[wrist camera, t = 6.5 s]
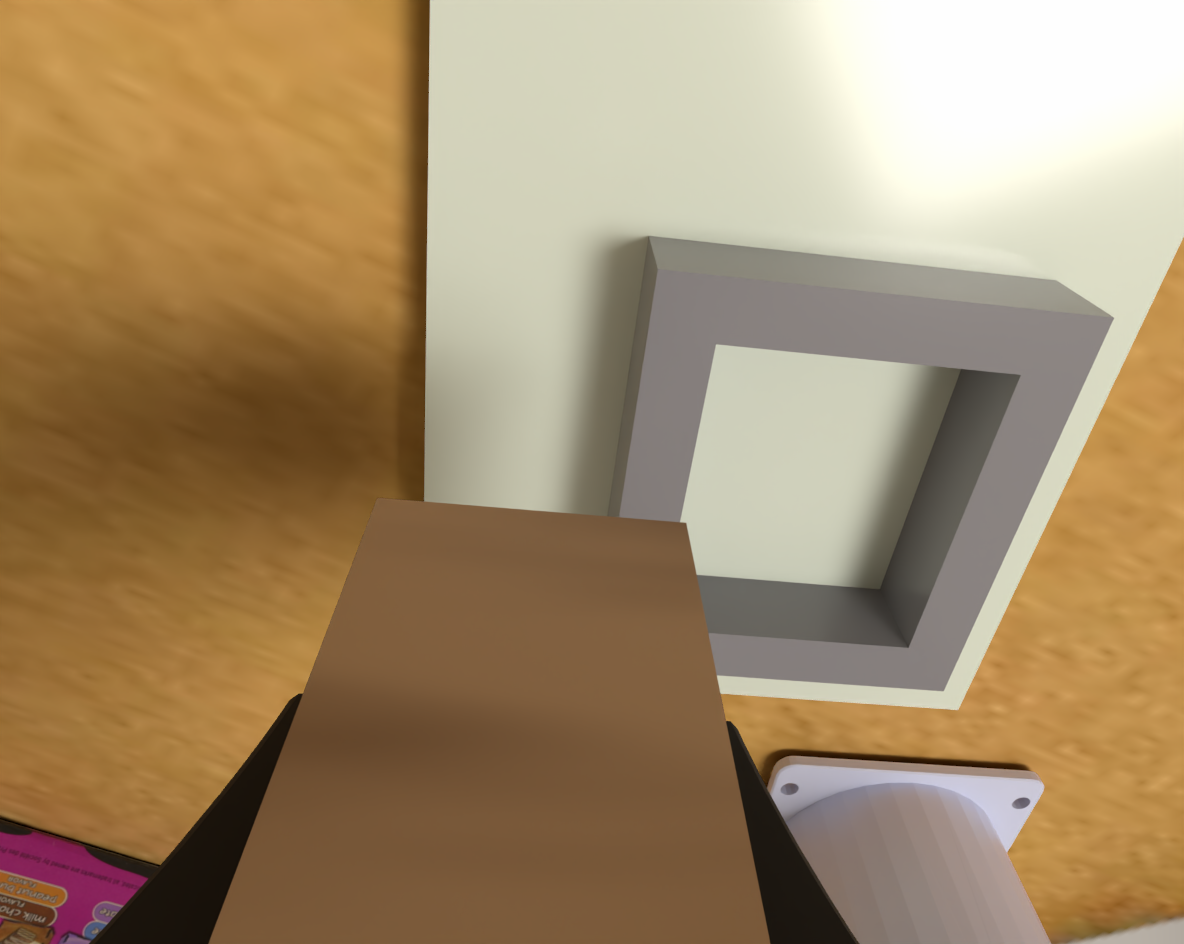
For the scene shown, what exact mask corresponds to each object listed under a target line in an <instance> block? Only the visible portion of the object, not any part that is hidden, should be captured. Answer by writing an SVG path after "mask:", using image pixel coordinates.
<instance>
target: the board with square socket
mask: <svg viewBox="0 0 1184 944" xmlns="http://www.w3.org/2000/svg"><path fill="white" fill-rule="evenodd" d="M1183 237H1184V0H430V43H429V128H428V213H427V298H426V383H425V468H424V502H436V503H449V504H461V505H474V506H486V507H498V508H511V509H523V510H535V511H548V512H560V513H572V514H585V515H597V516H609V517H622V518H634V519H647V520H659V521H671V522H684V523H686V524H687V529H688V534H689V539H690V544H691V549H692V554H693V559H694V564H695V569H696V574H697V579H698V584H699V589H700V594H701V599H702V604H703V609H704V614H705V619H706V624H707V629H708V634H709V639H710V644H711V649H712V654H713V659H714V664H715V669H716V674H717V679H718V684H719V689H720V694H735V695H749V696H764V697H778V698H793V699H807V700H822V701H836V702H850V703H865V704H879V705H894V706H908V707H923V708H937V709H952V710H958V709H959V707H960V705H961V703H962V701H963V699H964V696H965V694H966V692H967V690H968V688H969V686H970V684H971V682H972V680H973V678H974V675H975V673H976V671H977V669H978V667H979V665H980V663H981V661H982V659H983V657H984V654H985V652H986V650H987V648H988V646H989V644H990V642H991V640H992V638H993V636H994V634H995V631H996V629H997V627H998V625H999V623H1000V621H1001V619H1002V617H1003V615H1004V613H1005V610H1006V608H1007V606H1008V604H1009V602H1010V600H1011V598H1012V596H1013V594H1014V592H1015V589H1016V587H1017V585H1018V583H1019V581H1020V579H1021V577H1022V575H1023V573H1024V571H1025V568H1026V566H1027V564H1028V562H1029V560H1030V558H1031V556H1032V554H1033V552H1034V550H1035V547H1036V545H1037V543H1038V541H1039V539H1040V537H1041V535H1042V533H1043V531H1044V529H1045V526H1046V524H1047V522H1048V520H1049V518H1050V516H1051V514H1052V512H1053V510H1054V508H1055V506H1056V503H1057V501H1058V499H1059V497H1060V495H1061V493H1062V491H1063V489H1064V487H1065V485H1066V482H1067V480H1068V478H1069V476H1070V474H1071V472H1072V470H1073V468H1074V466H1075V464H1076V461H1077V459H1078V457H1079V455H1080V453H1081V451H1082V449H1083V447H1084V445H1085V443H1086V440H1087V438H1088V436H1089V434H1090V432H1091V430H1092V428H1093V426H1094V424H1095V422H1096V419H1097V417H1098V415H1099V413H1100V411H1101V409H1102V407H1103V405H1104V403H1105V401H1106V399H1107V396H1108V394H1109V392H1110V390H1111V388H1112V386H1113V384H1114V382H1115V380H1116V378H1117V375H1118V373H1119V371H1120V369H1121V367H1122V365H1123V363H1124V361H1125V359H1126V357H1127V354H1128V352H1129V350H1130V348H1131V346H1132V344H1133V342H1134V340H1135V338H1136V336H1137V333H1138V331H1139V329H1140V327H1141V325H1142V323H1143V321H1144V319H1145V317H1146V315H1147V312H1148V310H1149V308H1150V306H1151V304H1152V302H1153V300H1154V298H1155V296H1156V294H1157V292H1158V289H1159V287H1160V285H1161V283H1162V281H1163V279H1164V277H1165V275H1166V273H1167V271H1168V268H1169V266H1170V264H1171V262H1172V260H1173V258H1174V256H1175V254H1176V252H1177V250H1178V247H1179V245H1180V243H1181V241H1182V239H1183Z"/></svg>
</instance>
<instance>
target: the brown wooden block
mask: <svg viewBox="0 0 1184 944" xmlns="http://www.w3.org/2000/svg"><path fill="white" fill-rule="evenodd" d="M209 944H770V939H769V934H768V929H767V924H766V919H765V914H764V909H763V904H762V899H761V894H760V889H759V884H758V879H757V874H756V869H755V864H754V859H753V854H752V849H751V844H750V839H749V834H748V829H747V824H746V819H745V814H744V809H743V804H742V799H741V794H740V789H739V784H738V779H737V774H736V769H735V764H734V759H733V754H732V749H731V744H730V739H729V734H728V729H727V724H726V719H725V714H724V709H723V704H722V699H721V694H720V689H719V684H718V679H717V674H716V669H715V664H714V659H713V654H712V649H711V644H710V639H709V634H708V629H707V624H706V619H705V614H704V609H703V604H702V599H701V594H700V589H699V584H698V579H697V574H696V569H695V564H694V559H693V554H692V549H691V544H690V539H689V534H688V529H687V524H686V523H684V522H671V521H659V520H647V519H634V518H622V517H609V516H597V515H585V514H572V513H560V512H548V511H535V510H523V509H511V508H498V507H486V506H474V505H461V504H449V503H436V502H424V501H412V500H399V499H387V498H377V500H376V502H375V505H374V508H373V510H372V513H371V516H370V518H369V521H368V524H367V526H366V529H365V531H364V534H363V537H362V539H361V542H360V545H359V547H358V550H357V553H356V555H355V558H354V561H353V563H352V566H351V568H350V571H349V574H348V576H347V579H346V582H345V584H344V587H343V590H342V592H341V595H340V598H339V600H338V603H337V605H336V608H335V611H334V613H333V616H332V619H331V621H330V624H329V627H328V629H327V632H326V634H325V637H324V640H323V642H322V645H321V648H320V650H319V653H318V656H317V658H316V661H315V664H314V666H313V669H312V671H311V674H310V677H309V679H308V682H307V685H306V687H305V690H304V693H303V695H302V698H301V701H300V703H299V706H298V708H297V711H296V714H295V716H294V719H293V722H292V724H291V727H290V730H289V732H288V735H287V738H286V740H285V743H284V745H283V748H282V751H281V753H280V756H279V759H278V761H277V764H276V767H275V769H274V772H273V775H272V777H271V780H270V782H269V785H268V788H267V790H266V793H265V796H264V798H263V801H262V804H261V806H260V809H259V811H258V814H257V817H256V819H255V822H254V825H253V827H252V830H251V833H250V835H249V838H248V841H247V843H246V846H245V848H244V851H243V854H242V856H241V859H240V862H239V864H238V867H237V870H236V872H235V875H234V878H233V880H232V883H231V885H230V888H229V891H228V893H227V896H226V899H225V901H224V904H223V907H222V909H221V912H220V915H219V917H218V920H217V922H216V925H215V928H214V930H213V933H212V936H211V938H210V941H209Z"/></svg>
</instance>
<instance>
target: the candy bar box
mask: <svg viewBox="0 0 1184 944" xmlns="http://www.w3.org/2000/svg"><path fill="white" fill-rule="evenodd" d="M157 869H158V866H155V865H152V864H148V863H145V862H141V861H138V860H134V859H131V858H127V857H124V856H121V855H119V854H115V853H112V852H108V851H104V850H101V849H97V848H94V847H91V846H87V845H84V844H81V843H78V842H75V841H71V840H68V839H64V838H61V837H58V836H54V835H51V834H48V833H44V832H41V831H37V830H34V829H31V828H27V827H24V826H20V825H17V824H14V823H11V822H7V821H4V820H1V819H0V944H89V943H90V942H91V941H92V940H93V939H94V938H95V937H96V936H97V935H98V934H99V932H100V931H101V930H102V929H103V928H104V927H105V926H106V925H107V924H108V923H109V922H110V920H111V919H112V918H113V917H114V916H115V915H116V914H117V913H118V912H119V910H120V909H121V908H122V907H123V906H124V905H125V904H126V903H127V902H128V901H129V899H130V898H131V897H132V896H133V895H134V894H135V893H136V892H137V891H138V890H139V888H140V887H141V886H142V885H143V884H144V883H145V882H146V881H147V880H148V879H149V877H150V876H151V875H152V874H153V873H154V872H155V871H156V870H157Z"/></svg>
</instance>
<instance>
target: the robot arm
mask: <svg viewBox="0 0 1184 944" xmlns="http://www.w3.org/2000/svg"><path fill="white" fill-rule="evenodd" d="M302 695H303V694H298V695H296V696H295V697H293V698H292V699H291V700H290V701H289V702H288V703H287V705H286V706H285V708H284V709H283V711H282V712H281V714H280V715H279V716H278V718H277V719H276V721H275V722H274V723H273V725H272V726H271V728H270V729H269V730H268V732H267V733H266V735H265V736H264V737H263V739H262V740H261V741H260V743H259V744H258V745H257V747H256V748H255V749H254V751H253V752H252V753H251V755H250V756H249V757H248V759H247V760H246V761H245V763H244V764H243V765H242V766H241V768H240V769H239V770H238V772H237V773H236V774H235V775H234V777H233V778H232V779H231V781H230V782H229V783H228V784H227V786H226V787H225V788H224V790H223V791H222V792H221V793H220V795H219V796H218V797H217V798H216V799H215V801H214V802H213V803H212V804H211V806H210V807H209V808H208V809H207V810H206V812H205V813H204V814H203V815H202V816H201V818H200V819H199V820H198V821H197V822H196V824H195V825H194V826H193V827H192V828H191V830H190V831H189V832H188V833H187V834H186V836H185V837H184V838H183V839H182V841H181V842H180V843H179V844H178V845H177V847H176V848H175V849H174V850H173V851H172V852H171V854H170V855H169V856H168V857H167V858H166V859H165V861H164V862H163V863H162V864H161V865H160V866H159V867H158V869H157V870H156V871H155V872H154V873H153V874H152V875H151V876H150V877H149V879H148V880H147V881H146V882H145V883H144V884H143V885H142V886H141V887H140V888H139V890H138V891H137V892H136V893H135V894H134V895H133V896H132V897H131V898H130V899H129V901H128V902H127V903H126V904H125V905H124V906H123V907H122V908H121V909H120V910H119V912H118V913H117V914H116V915H115V916H114V917H113V918H112V919H111V920H110V922H109V923H108V924H107V925H106V926H105V927H104V928H103V929H102V930H101V931H100V932H99V934H98V935H97V936H96V937H95V938H94V939H93V940H92V941H91V942H90V943H89V944H209V941H210V938H211V936H212V933H213V930H214V928H215V925H216V922H217V920H218V917H219V915H220V912H221V909H222V907H223V904H224V901H225V899H226V896H227V893H228V891H229V888H230V885H231V883H232V880H233V878H234V875H235V872H236V870H237V867H238V864H239V862H240V859H241V856H242V854H243V851H244V848H245V846H246V843H247V841H248V838H249V835H250V833H251V830H252V827H253V825H254V822H255V819H256V817H257V814H258V811H259V809H260V806H261V804H262V801H263V798H264V796H265V793H266V790H267V788H268V785H269V782H270V780H271V777H272V775H273V772H274V769H275V767H276V764H277V761H278V759H279V756H280V753H281V751H282V748H283V745H284V743H285V740H286V738H287V735H288V732H289V730H290V727H291V724H292V722H293V719H294V716H295V714H296V711H297V708H298V706H299V703H300V701H301V698H302ZM726 724H727V729H728V734H729V739H730V744H731V749H732V754H733V759H734V764H735V769H736V774H737V779H738V784H739V789H740V794H741V799H742V804H743V809H744V814H745V819H746V824H747V829H748V834H749V839H750V844H751V849H752V854H753V859H754V864H755V869H756V874H757V879H758V884H759V889H760V894H761V899H762V904H763V909H764V914H765V919H766V924H767V929H768V934H769V939H770V944H1051V942H1050V940H1049V938H1048V936H1047V934H1046V932H1045V930H1044V928H1043V926H1042V924H1041V922H1040V920H1039V918H1038V916H1037V914H1036V912H1035V910H1034V908H1033V906H1032V903H1031V901H1030V899H1029V897H1028V895H1027V893H1026V891H1025V889H1024V887H1023V885H1022V883H1021V881H1020V879H1019V877H1018V875H1017V873H1016V871H1015V869H1014V867H1013V865H1012V863H1011V861H1010V859H1009V856H1008V854H1007V852H1008V850H1009V848H1010V847H1011V845H1012V843H1013V842H1014V840H1015V838H1016V837H1017V835H1018V833H1019V832H1020V830H1021V828H1022V826H1023V825H1024V823H1025V821H1026V820H1027V818H1028V816H1029V815H1030V813H1031V811H1032V810H1033V808H1034V806H1035V805H1036V803H1037V801H1038V799H1039V798H1040V796H1041V794H1042V793H1043V790H1044V785H1043V783H1042V781H1041V779H1040V777H1039V776H1038V775H1037V774H1036V773H1035V772H1031V771H1025V770H1010V769H994V768H978V767H963V766H947V765H932V764H916V763H900V762H885V761H869V760H853V759H838V758H822V757H807V756H787V757H784V758H782V759H780V760H779V761H778V762H777V763H776V764H775V766H774V768H773V771H772V774H771V777H770V780H769V783H768V786H767V787H766V786H765V784H764V782H763V780H762V778H761V776H760V774H759V772H758V770H757V768H756V766H755V764H754V762H753V760H752V758H751V756H750V754H749V752H748V750H747V748H746V746H745V744H744V742H743V740H742V738H741V736H740V734H739V732H738V730H737V728H736V727H735V726H734V725H733V724H732V723H731V722H730V721H726Z"/></svg>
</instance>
